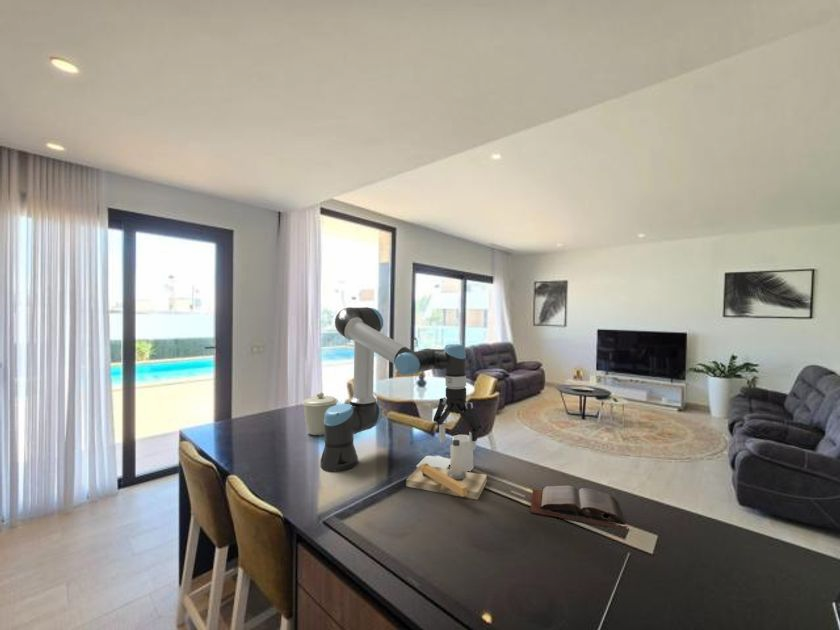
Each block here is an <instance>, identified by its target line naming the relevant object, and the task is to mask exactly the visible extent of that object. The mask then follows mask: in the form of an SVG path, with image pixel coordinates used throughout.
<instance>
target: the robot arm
mask: <svg viewBox="0 0 840 630" xmlns="http://www.w3.org/2000/svg"><path fill="white" fill-rule="evenodd" d="M334 326H335V329H336V331H337V332H338V333H339V334H340V335H341V336H343V337H344V338H345V339H347V340H351V341H353V342H354V343H353V344H354V345H353V346H354V349H353V350H354V351H353V356H354V357H353V395H352V397H351V398H350V399H349V403H342V404H341V403H340V404H337V405H335V406H332V407H330V408H329V409H327V410H326V412H325V419H324V427H325V435H324V448H323V451H322V454H321V458H320V468H321V469H322V470H324V471H327V472H343V471H346V470H347V471H348V470H350V469H352V468H354V467H356V466H357V465H358V463H359V457H358V456H359V455H358V454H357V450H356V447H355V444H354V435H356V434H358V433H361V432H363V431H367V430H371V429H372V428H374V427H376V426H377V425H379V423H380V422H381V419H382V408H381V405H380V403H379V402H378V401H377V398H376V397H375V396H374V367H375V364H374V363H375V361H374V359H375V354H377V355H379V356H380V357H382V358H384V360H387V361H388V362H390V363H392V364H393V365H394V367H395V369H396V370H397V372H398V373H399V374H401V375H403V376H406V375H407V376H410V375H414V374H417V373H422V372H426V371H430V370H439V371H441V370H442V371H444V374H445V387H446V388H445V397H442V398H439V401H438V402H439V403H438V406H437V409H436V411H435V414H434V416H433V419H432V420H433V422H434V423H436V424H437V433H439V440H438V441H439V443H443V442H445V441H446V423H445V421H446V419H447V418H448V417H449V415H450V414H451V413H452V414H453V413H455V414H457V415H458V414H459V416H460V417H462V419H463V421H464V423H465V424H466V425H467V427H468V428H469V430H470V431H468V435H469V446H470V451H472V450H473V451H474V450H476V449H477V445H476V442H477V440H478V432H479V431H481V430H483V427H482V424H481V422H480V419H479V416H478V414H477V412H476V410H475V404H474V402H472V401H471V402H467V401H466V399H467V387H466V386H467V372H466V368H467V366H466V364H467V361H466V360H467V356H466V347H465V345H464V344H458V343H457V344H453V343H451V344H450V343H449V344H446V345H445V346H444V349H437V348H436V349H435V348H422V349H419V350H418V351H417V350H416V351H415V350H412V349H410V348H408V347H406V346H405V345H403V344H401V343H399V342H398V341H396V340H395V339H393V338H391V337H389V336H387V335H385V334H384V333H382V332H381V331H382V329H383V327H384V319H383V316H382V314H381V313H380V311H379V310H378V309H376V308H373V307H367V306H366V307H365V306H364V307H345V308H342V309H340V311H339V312H338V313H336V315H335V318H334ZM446 406H447V407H446ZM445 407H446V408H445Z"/></svg>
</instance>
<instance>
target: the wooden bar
mask: <svg viewBox="0 0 840 630" xmlns="http://www.w3.org/2000/svg"><path fill="white" fill-rule="evenodd" d="M421 472H422V473H424V474H426V475H428V476H429V477H431V478H433V479H434V480H436V481H438V482H439V483H441V484H442V485H444V486H446V487H447V488H449V489H451V490H452V491H454V492H456V493H457V494H459V495H460V496H462V497H461V498H464V497H463V496H466V495H467V486H465V485H463V484H461V483H460V482H458V481H456V480H454V479H453V478H451V477H449V476H447V475H446V474H444V473H442V472H440V471H438V470H437V469H435V468H433V467H431V466H430V465H428V464H427V463H422V464H421ZM460 496H459V497H460Z"/></svg>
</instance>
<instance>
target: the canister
mask: <svg viewBox="0 0 840 630" xmlns="http://www.w3.org/2000/svg"><path fill="white" fill-rule="evenodd" d="M338 402H339V399H337V398H336V397H334V396H329V395H325V394H324V392H322V391H319V392H317V393H316V396H315V395H314V396H311V397H308V398H306V399H305V400H303V401H302V402H301V404H302V405H303V411H304V412H303V413H304V419H305V425H306V431H307V433H308V434H309V435H312V436H317V435H318V436H325V427H324V419H325V412H326V410H327V409H329V408H330V407H332V406H335V405H338V404H337V403H338Z"/></svg>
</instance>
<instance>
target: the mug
mask: <svg viewBox="0 0 840 630" xmlns="http://www.w3.org/2000/svg"><path fill="white" fill-rule="evenodd" d="M453 440H459V441H460V443H461V444H462V464H463V471H469V472H471V471H470V470H472V469H473V468H474V469H475V467H474V450H472V451H470V446H469V434H468V435H467V434H457V435H454V436H452V441H453ZM474 469H473V470H474ZM473 470H472V471H473Z"/></svg>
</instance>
